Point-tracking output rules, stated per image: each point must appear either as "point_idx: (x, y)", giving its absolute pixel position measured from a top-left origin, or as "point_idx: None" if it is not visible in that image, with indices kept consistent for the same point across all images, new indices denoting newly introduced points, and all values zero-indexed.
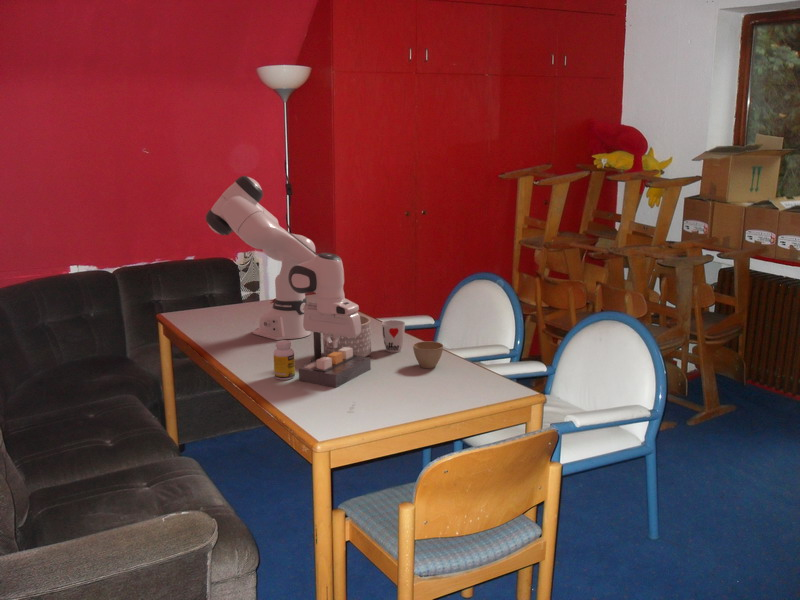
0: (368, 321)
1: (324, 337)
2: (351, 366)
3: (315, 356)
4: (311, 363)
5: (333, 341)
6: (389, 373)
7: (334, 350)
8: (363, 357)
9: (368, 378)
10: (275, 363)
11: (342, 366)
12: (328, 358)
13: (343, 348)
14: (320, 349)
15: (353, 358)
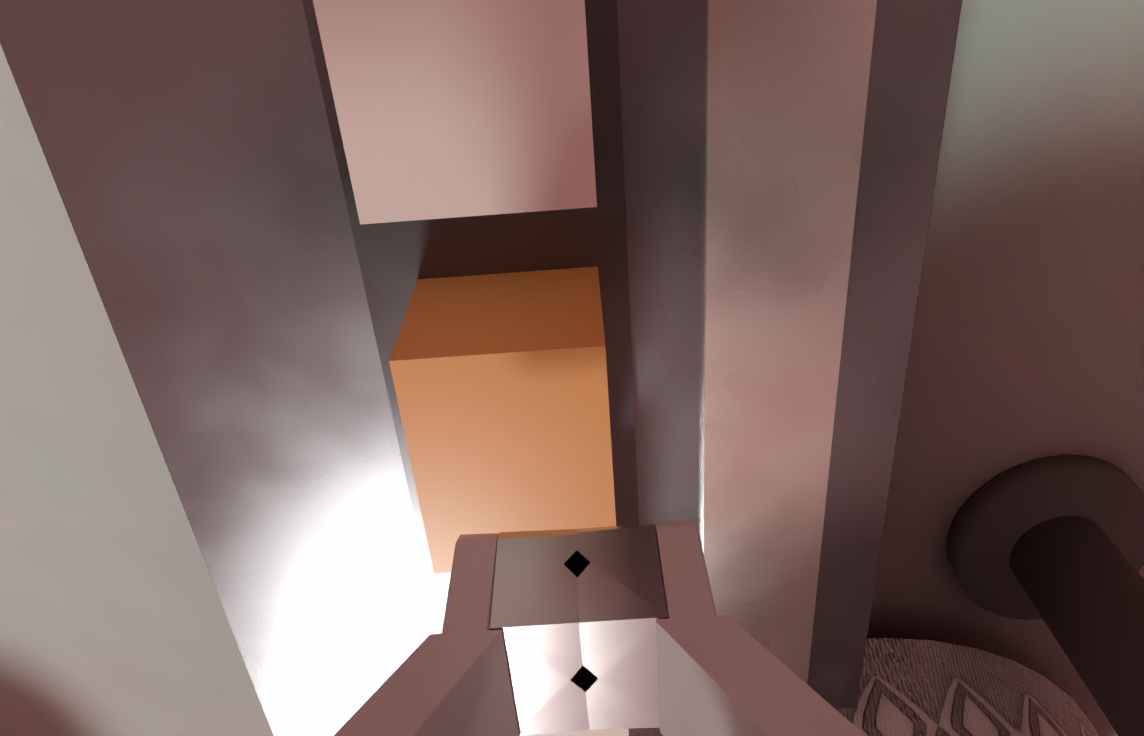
0: None
1: (822, 717)
2: (148, 362)
3: (1102, 554)
4: (906, 112)
5: (454, 664)
6: (46, 614)
7: (884, 732)
8: (351, 711)
9: (67, 386)
10: None
11: (268, 284)
12: (389, 145)
13: (598, 732)
14: (1087, 670)
15: (433, 633)
